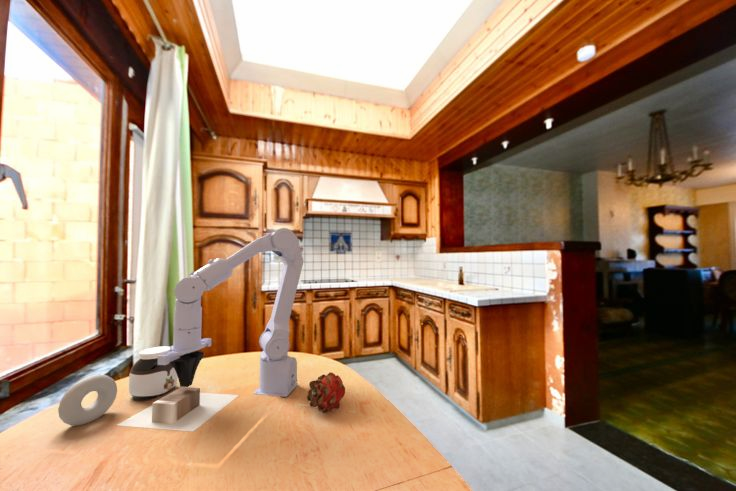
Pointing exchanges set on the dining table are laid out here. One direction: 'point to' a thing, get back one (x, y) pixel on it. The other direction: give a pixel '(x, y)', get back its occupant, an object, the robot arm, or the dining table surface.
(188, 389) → the walnut block
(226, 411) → the dining table surface
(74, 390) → the donut
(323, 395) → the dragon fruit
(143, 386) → the spread jar
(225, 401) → the mat
